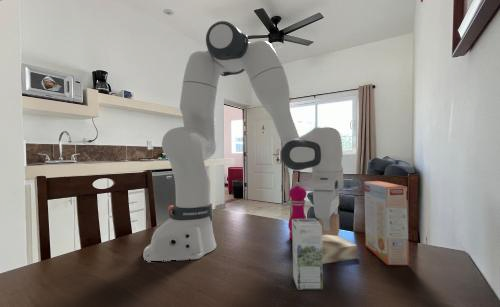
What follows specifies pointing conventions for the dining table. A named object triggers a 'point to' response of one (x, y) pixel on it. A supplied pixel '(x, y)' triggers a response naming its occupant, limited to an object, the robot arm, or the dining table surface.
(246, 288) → the dining table surface
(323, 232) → the terracotta cube
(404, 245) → the cracker box
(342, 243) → the birch block
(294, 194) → the pepper mill
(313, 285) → the syrup box
